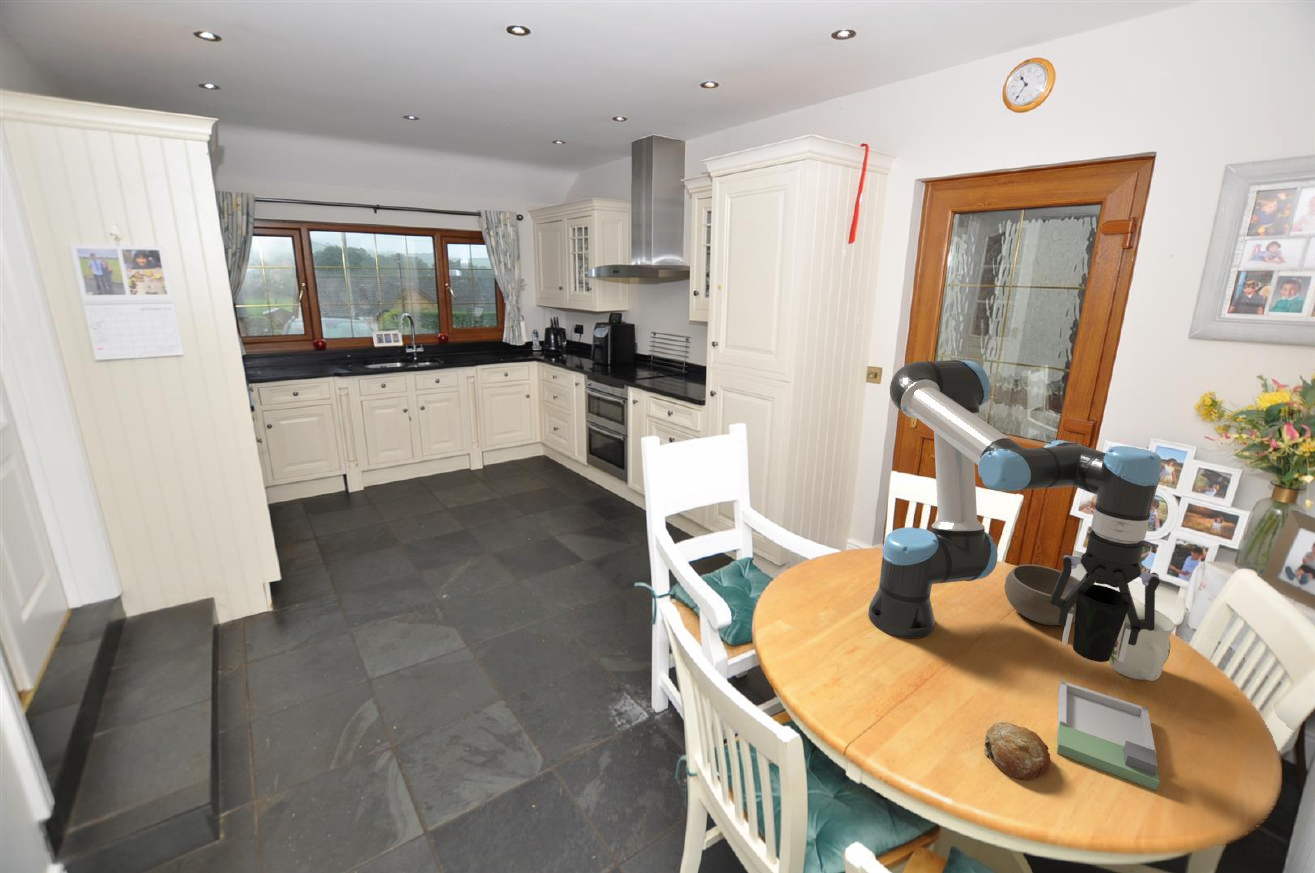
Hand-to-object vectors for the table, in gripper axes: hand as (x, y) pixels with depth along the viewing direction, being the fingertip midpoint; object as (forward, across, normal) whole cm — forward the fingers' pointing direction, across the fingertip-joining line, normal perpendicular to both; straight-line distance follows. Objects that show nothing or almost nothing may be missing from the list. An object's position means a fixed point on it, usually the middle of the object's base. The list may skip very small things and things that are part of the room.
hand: (1092, 648), depth 107 cm
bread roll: (+17, -8, -16) cm, 25 cm away
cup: (+1, 0, 0) cm, 1 cm away
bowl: (+16, -8, +40) cm, 44 cm away
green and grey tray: (+17, +4, 0) cm, 17 cm away
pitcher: (+17, +9, +26) cm, 32 cm away
